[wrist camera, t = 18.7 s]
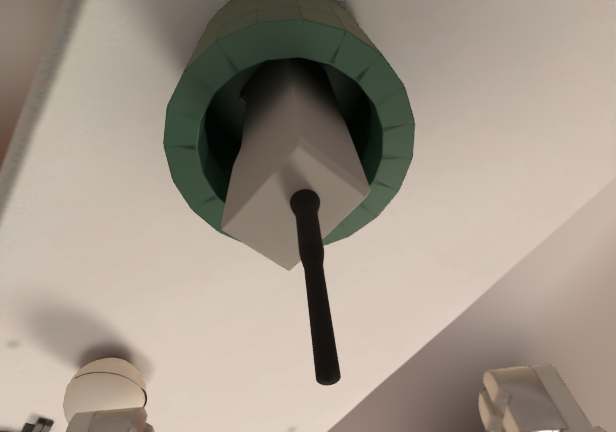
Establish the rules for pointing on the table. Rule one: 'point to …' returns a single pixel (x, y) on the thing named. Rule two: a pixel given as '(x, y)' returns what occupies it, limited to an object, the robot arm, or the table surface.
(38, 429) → the phone stand
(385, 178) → the green hollow cylinder
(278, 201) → the vintage mobile phone
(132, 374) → the cream domed seamed part
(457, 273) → the table surface
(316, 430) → the table surface
